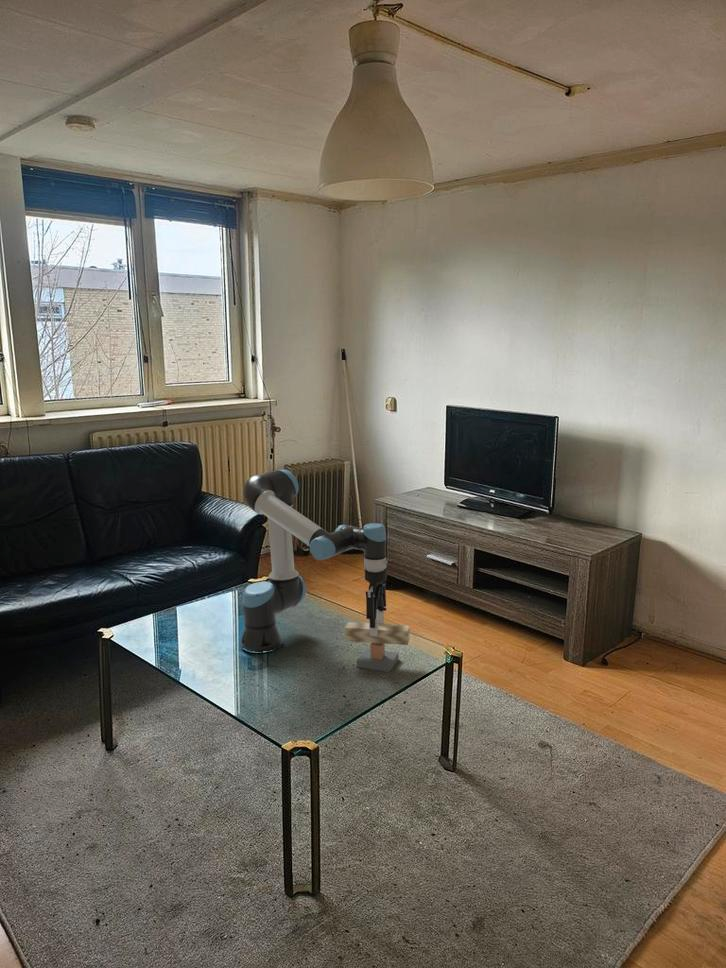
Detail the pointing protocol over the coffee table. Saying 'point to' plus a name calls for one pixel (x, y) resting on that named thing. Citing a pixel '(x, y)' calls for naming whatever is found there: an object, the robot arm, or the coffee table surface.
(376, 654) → the fulcrum
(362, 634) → the beam
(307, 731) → the coffee table surface
